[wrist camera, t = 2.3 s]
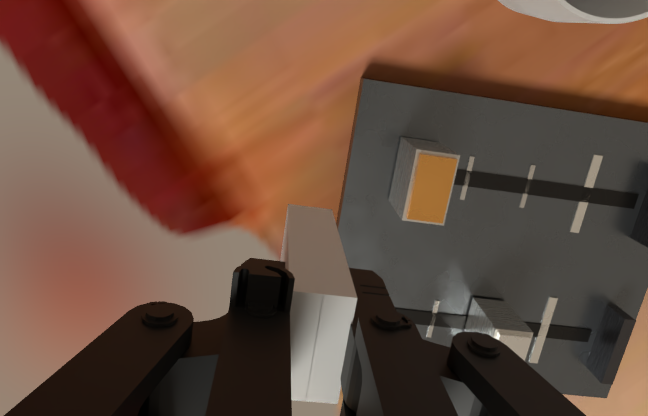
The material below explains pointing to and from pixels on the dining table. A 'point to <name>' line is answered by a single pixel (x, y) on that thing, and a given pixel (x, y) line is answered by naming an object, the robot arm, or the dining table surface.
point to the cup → (582, 10)
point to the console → (508, 223)
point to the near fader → (423, 180)
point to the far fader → (499, 324)
